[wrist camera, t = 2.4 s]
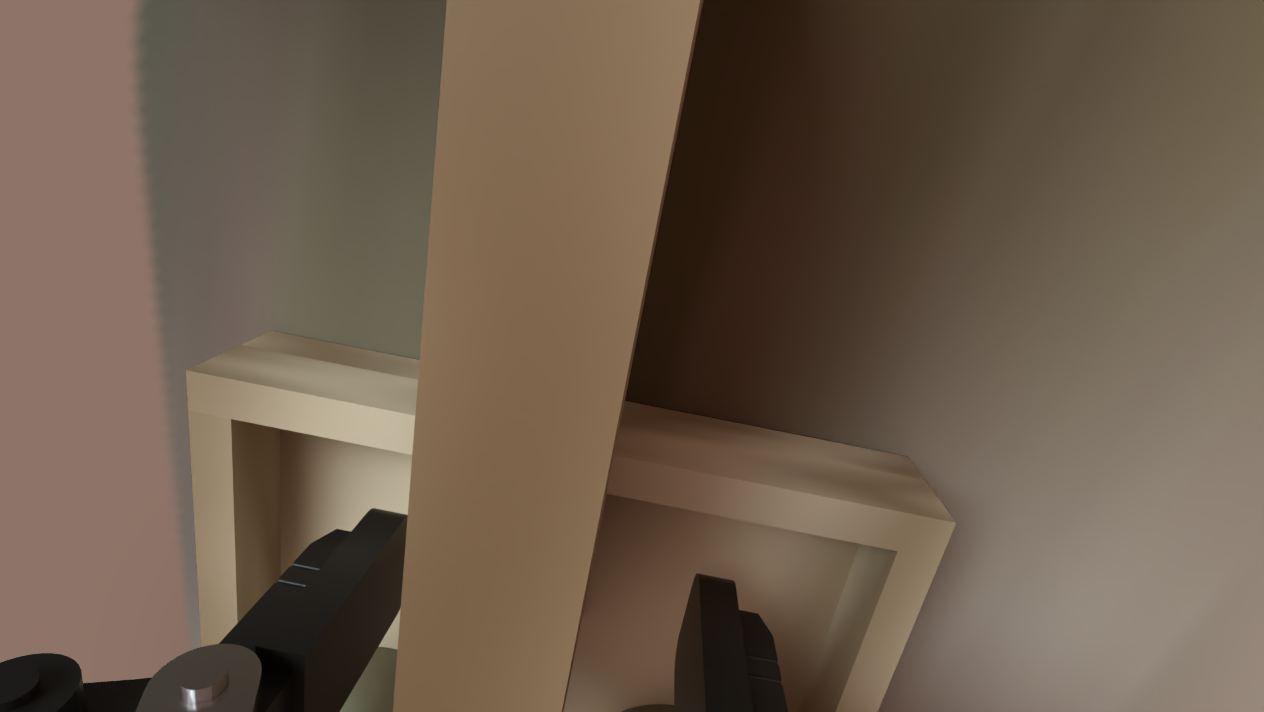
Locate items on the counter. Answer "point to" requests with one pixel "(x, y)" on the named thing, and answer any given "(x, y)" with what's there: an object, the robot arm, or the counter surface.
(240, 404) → the tray
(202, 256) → the counter surface
